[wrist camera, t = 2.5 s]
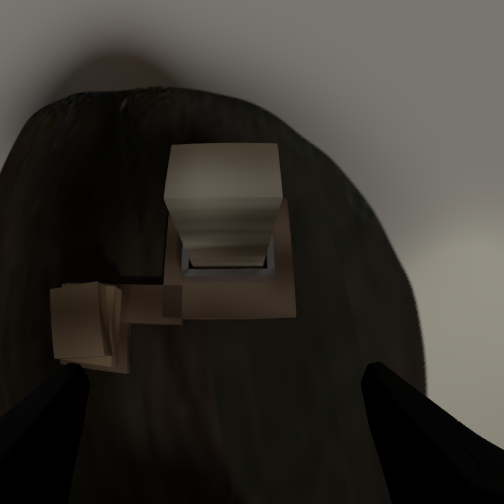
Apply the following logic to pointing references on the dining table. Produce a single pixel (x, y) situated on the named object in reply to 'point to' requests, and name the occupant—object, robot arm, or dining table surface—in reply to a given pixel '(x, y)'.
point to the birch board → (224, 202)
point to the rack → (208, 291)
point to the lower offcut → (114, 327)
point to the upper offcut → (80, 321)
